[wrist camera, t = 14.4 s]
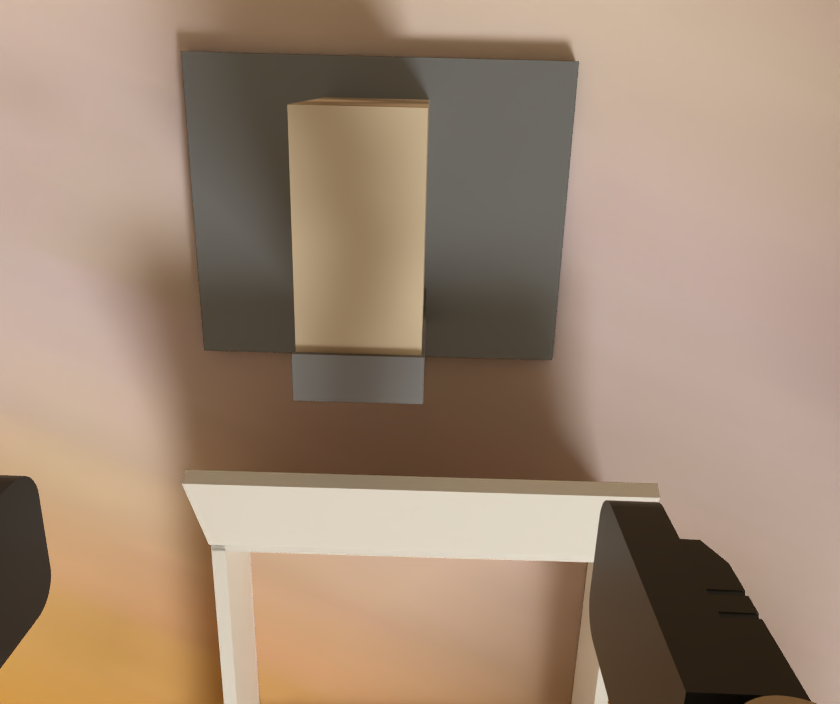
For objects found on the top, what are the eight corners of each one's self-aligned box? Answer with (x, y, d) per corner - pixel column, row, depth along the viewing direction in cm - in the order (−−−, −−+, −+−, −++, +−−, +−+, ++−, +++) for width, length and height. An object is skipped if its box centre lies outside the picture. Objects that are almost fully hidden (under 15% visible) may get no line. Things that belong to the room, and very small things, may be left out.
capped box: (431, 99, 29) (431, 108, 21) (425, 325, 32) (423, 404, 25) (322, 97, 29) (282, 104, 21) (326, 323, 32) (293, 400, 25)
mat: (576, 61, 29) (578, 61, 29) (550, 355, 33) (552, 360, 33) (185, 51, 29) (181, 51, 29) (208, 345, 33) (204, 350, 33)
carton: (618, 413, 34) (661, 491, 28) (565, 840, 43) (588, 972, 37) (227, 402, 34) (181, 476, 28) (256, 830, 43) (226, 959, 37)
